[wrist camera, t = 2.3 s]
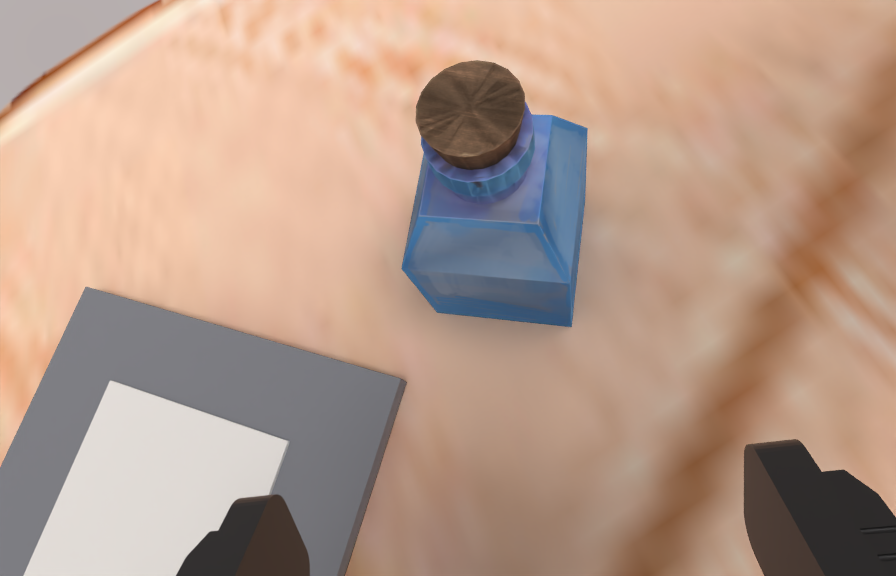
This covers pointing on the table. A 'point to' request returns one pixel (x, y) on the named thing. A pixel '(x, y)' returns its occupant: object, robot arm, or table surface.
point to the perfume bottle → (495, 200)
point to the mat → (184, 444)
